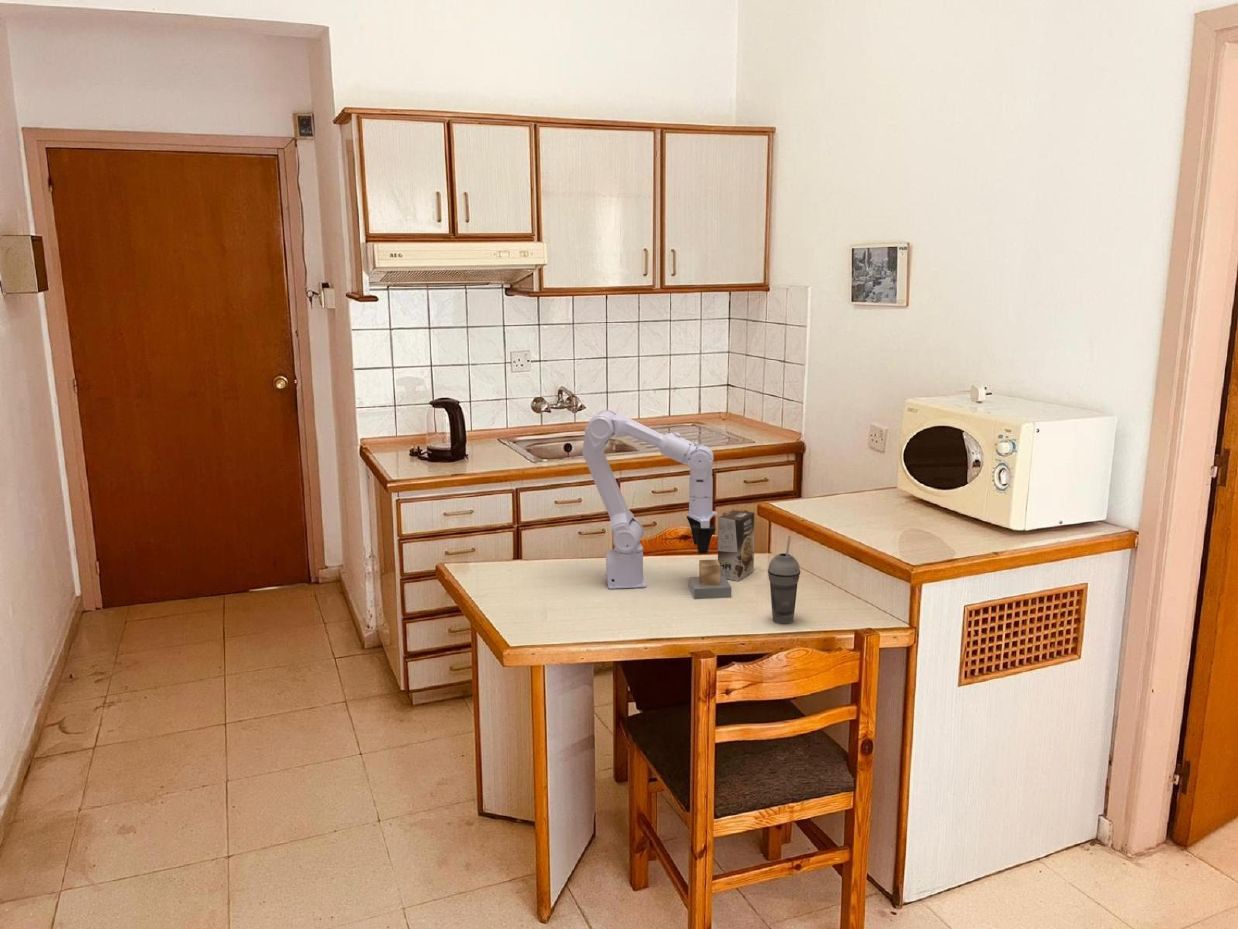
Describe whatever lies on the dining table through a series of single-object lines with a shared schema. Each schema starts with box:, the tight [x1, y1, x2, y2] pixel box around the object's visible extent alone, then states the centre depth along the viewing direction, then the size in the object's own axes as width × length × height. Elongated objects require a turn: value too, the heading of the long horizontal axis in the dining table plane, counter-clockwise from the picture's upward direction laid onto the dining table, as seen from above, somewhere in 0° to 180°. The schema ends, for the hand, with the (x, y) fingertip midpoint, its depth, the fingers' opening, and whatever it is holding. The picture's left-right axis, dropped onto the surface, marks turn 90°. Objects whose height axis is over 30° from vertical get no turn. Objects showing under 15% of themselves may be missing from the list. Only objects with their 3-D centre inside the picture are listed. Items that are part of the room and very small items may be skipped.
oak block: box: [698, 558, 720, 585], centre depth 237 cm, size 4×4×5 cm
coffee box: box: [717, 509, 755, 582], centre depth 248 cm, size 9×6×16 cm
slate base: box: [688, 576, 732, 600], centre depth 238 cm, size 9×9×2 cm
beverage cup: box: [767, 535, 801, 625], centre depth 216 cm, size 7×7×20 cm
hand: (700, 548), depth 240 cm, fingers open, 7 cm apart
